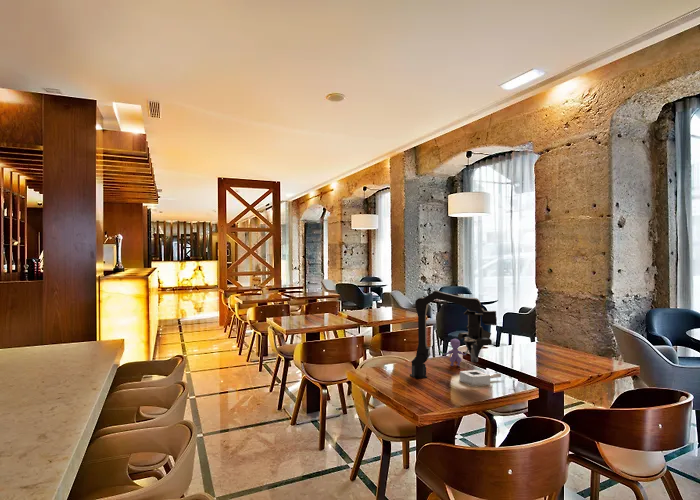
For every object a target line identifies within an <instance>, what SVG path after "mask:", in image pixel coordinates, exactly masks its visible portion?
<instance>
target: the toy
mask: <svg viewBox="0 0 700 500" xmlns="http://www.w3.org/2000/svg"><path fill="white" fill-rule="evenodd" d="M449 341H450V346H451V348H452V349H451V350H448V352H445V353H444V352H443V351H442V350H438V352H439V353H440V354H442V355H443V356H446V355H451V356H450V357H449V362H450V364H449V365H450V366H451V367H454V363H455V362H456V366H457V365H458V367H460V366H461V365H460V364H461V362H462V361H463V360H462V358H461V356H460V355H463V356H466V355H467V354H468V353H469V351H468V349H466V352H465V353H464V352H462V350H461V351H460V350H458V349H459V347H460V346H461V341H460V339H458V338H453V339H450V340H449Z"/></svg>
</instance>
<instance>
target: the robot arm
mask: <svg viewBox="0 0 700 500" xmlns="http://www.w3.org/2000/svg"><path fill="white" fill-rule="evenodd" d="M435 300H441V301H444V302H448V303H452V304H456V305H459V306H462V307H464V308H466V311H465V312H463V315H464V316H465V315H466V316H467V325H466V327H465V328H466V329H467V332H459V333H458V334H457V339H458V340H462V343H464V345H465V347H466V348H467V349H468V353H469V355H470V356H471V344H472V345H473V349H474V354H475V357H476V358H478V359H479V355H480V353H481V350H482V348H483V347H484V346H492V345H493V340H492V339H491V335H492V332H490V331H487V330H484V328H483V326H481V323H482V324H484V326H497V322H498V321H497V319H498V318H497V311H496V310H485V309H484V308H483V307H482V305H481V301H480V300H479V298H477V297H471V296H470V297H468V296H467V297H466V296H464V297H463V296H460V295H459V296H458V295H456V294H451V293H447V292H443V291H440V290H437V289H436V290H434V291H432V292H431V293H430V294H428V295H426V296H425V297H423V296H422V297H419V298H417V299H416V300H415V302H414V304H415V310H416V313H417V335H418V337H417V338H418V341H417V342H418V344H417V349H416V354H415V357H414V358H413V359H412V360H411V374H409V376H411V377H412V378H413V379H416V380H417V379H424V378H428V376H427V367H426V362H427V361H428V360H429V357H430V356H431V346H428V343H427V313H428V309H429V304H430V303H432V302H434V301H435ZM463 339H464V340H463ZM467 349H466V350H467Z"/></svg>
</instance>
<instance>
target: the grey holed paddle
mask: <svg viewBox="0 0 700 500" xmlns="http://www.w3.org/2000/svg"><path fill="white" fill-rule="evenodd" d="M501 377H502V374H501V373H491V374H488V373H486V372H483V371H481V370H478V369H472V370H469V369H468V370H460V371H459V381H460V382H461V383H464V384H466V385H467V386H469V387H473V388H474V387H485V386H490V385H491V379H497V378H498V379H499V378H501Z"/></svg>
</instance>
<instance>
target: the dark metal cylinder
mask: <svg viewBox="0 0 700 500" xmlns="http://www.w3.org/2000/svg"><path fill="white" fill-rule="evenodd" d="M470 361H471V363H478V362H479V357H478V358H476V357H475V354H474V349H473V345H472V344H471V355H470Z"/></svg>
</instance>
